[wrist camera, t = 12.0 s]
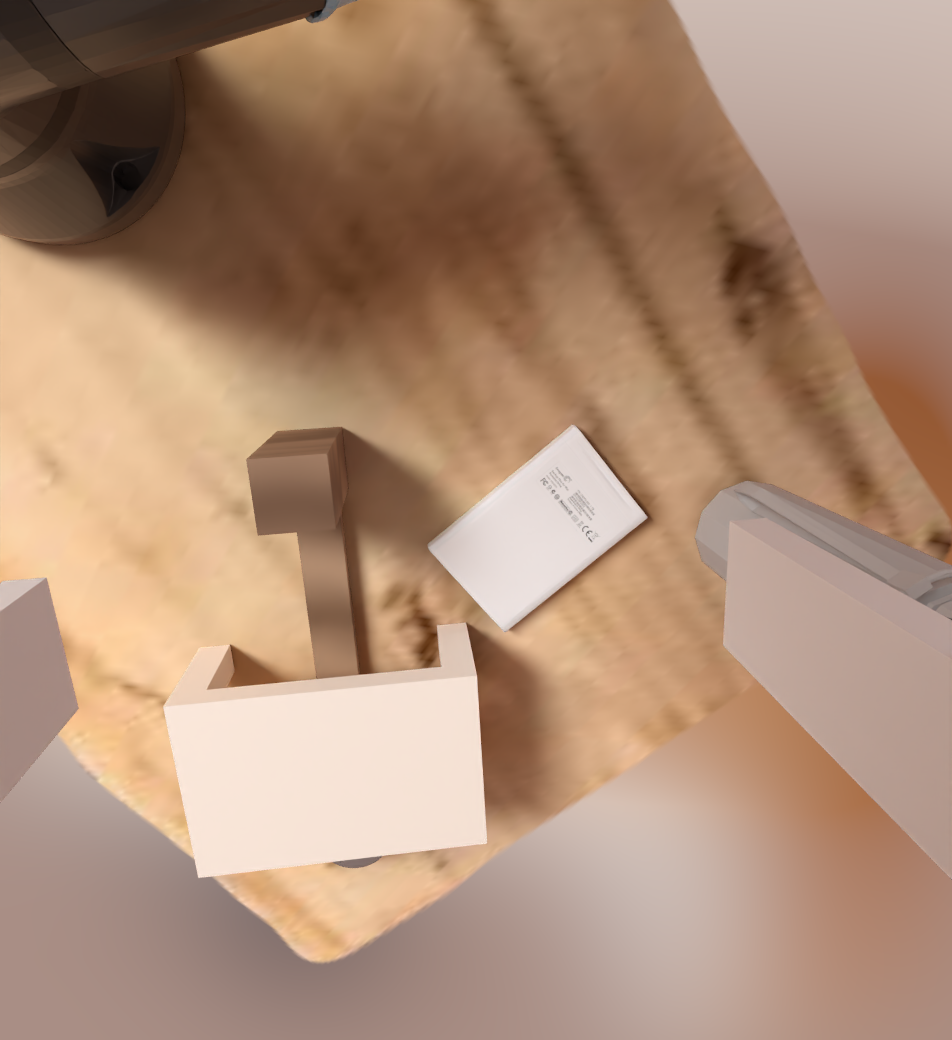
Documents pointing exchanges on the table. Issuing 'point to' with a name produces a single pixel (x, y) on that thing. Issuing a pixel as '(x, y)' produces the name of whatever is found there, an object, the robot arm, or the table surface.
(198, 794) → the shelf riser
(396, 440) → the table surface
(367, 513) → the table surface
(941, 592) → the water bottle
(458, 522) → the external hard drive
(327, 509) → the walnut paddle
